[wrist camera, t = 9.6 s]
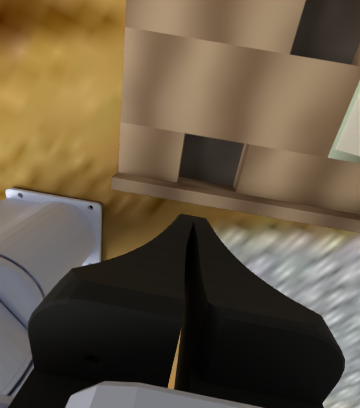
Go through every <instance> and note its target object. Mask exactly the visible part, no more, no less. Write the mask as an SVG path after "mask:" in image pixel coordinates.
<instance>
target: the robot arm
mask: <svg viewBox="0 0 360 408" xmlns="http://www.w3.org/2000/svg"><path fill="white" fill-rule="evenodd" d="M21 194H22V195H23V196H22V195H21ZM6 197H7V198H6V199H4V200H2V201H0V408H324V407H323V404H322V403H323V402H324V400H325V399H326V398H327V396H328V395H329V394H330V392H331V391H332V390H333V388H334V387H335V386H336V384H337V383H338V381H339V380H340V378H341V376H342V374H343V372H344V368H345V358H344V356H343V353H342V351H341V349H340V347H339V345H338V344H337V342H336V340H335V338H334V337H333V335H332V333H331V331H330V330H329V328H328V326H327V324H326V323H325V321H324V319H323V318H322V316H321V315H319V314H317V313H315V312H314V311H312V310H310V309H308V308H306V307H305V306H303V305H301V304H299V303H297V302H296V301H294V300H292V299H290V298H289V297H287V296H285V295H284V294H282V293H281V292H279V291H278V290H276V289H274V288H273V287H271V286H270V285H269V284H267V283H266V282H264V281H263V280H262V279H260V278H259V277H258V276H256V275H255V274H254V273H253V272H251V271H250V270H249V269H248V268H247V267H245V266H244V265H243V264H242V263H241V262H240V261H239V260H238V259H237V258H236V257H235V256H234V255H233V254H232V253H231V252H230V251H229V250H228V249H227V247H226V246H225V245H224V244H223V243H222V241H221V240H220V239H219V237H218V236H217V235H216V233H215V232H214V230H213V229H212V227H211V225H210V224H209V222H208V221H207V219H206V218H201V217H195V216H190V215H184V214H180V215H178V217H177V218H176V219H175V221H174V222H173V223H172V224H171V225H170V226H169V227H168V228H167V229H165V230H164V231H163V232H162V233H161V234H159V235H158V236H157V237H155V238H154V239H153V240H151V241H150V242H148V243H147V244H145V245H143V246H141V247H139V248H137V249H135V250H133V251H131V252H128V253H126V254H124V255H121V256H118V257H115V258H112V259H109V260H106V261H102V262H101V233H102V206H101V205H100V204H99V203H96V202H91V201H85V200H79V199H74V198H68V197H62V196H57V195H51V194H45V193H40V192H34V191H28V190H23V189H17V188H9V189H7V190H6ZM90 205H91V206H92V207H93V209H92V208H90ZM90 263H91V264H90ZM181 327H182V328H181ZM180 331H181V337H180V345H179V353H178V362H177V370H176V378H175V386H174V390H173V389H168V388H167V387H168V383H169V379H170V374H171V370H172V366H173V361H174V357H175V353H176V348H177V344H178V340H179V335H180Z"/></svg>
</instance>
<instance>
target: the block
mask: <svg viewBox="0 0 360 408" xmlns="http://www.w3.org/2000/svg"><path fill="white" fill-rule="evenodd" d="M335 149H336V150H339V151H343V152H346V153H350V154H354V155H357V156H360V92H359V94H358V97H357V99H356V101H355V104H354V106H353V108H352V111H351V113H350V116H349V118H348V120H347V123H346V125H345V127H344V130H343V132H342V134H341V137H340V139H339V141H338V144H337V146H336V148H335Z"/></svg>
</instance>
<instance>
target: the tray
mask: <svg viewBox="0 0 360 408" xmlns="http://www.w3.org/2000/svg"><path fill="white" fill-rule="evenodd" d="M359 92H360V0H126V20H125V41H124V62H123V82H122V103H121V124H120V144H119V165H118V173H117V174H115V175H114V176H113V177H112V183H111V189H113V190H119V191H124V192H130V193H136V194H141V195H147V196H153V197H158V198H164V199H170V200H176V201H181V202H187V203H193V204H198V205H204V206H210V207H215V208H221V209H227V210H233V211H238V212H244V213H250V214H255V215H261V216H267V217H272V218H278V219H284V220H290V221H295V222H301V223H307V224H312V225H318V226H324V227H329V228H335V229H341V230H347V231H352V232H358V233H360V156H357V155H354V154H350V153H346V152H343V151H339V150H336V149H335V148H336V146H337V144H338V141H339V139H340V137H341V134H342V132H343V130H344V127H345V125H346V123H347V120H348V118H349V116H350V113H351V111H352V108H353V106H354V104H355V101H356V99H357V97H358V94H359Z"/></svg>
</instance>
